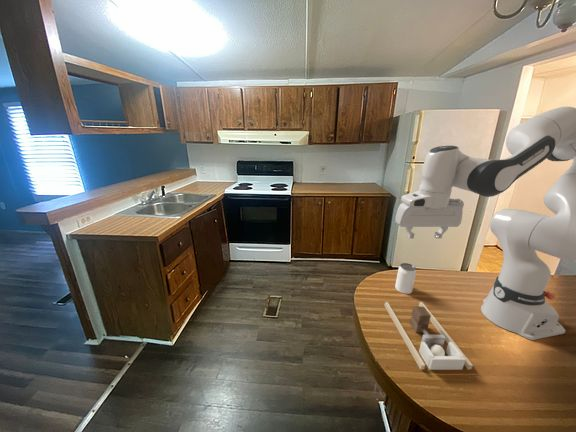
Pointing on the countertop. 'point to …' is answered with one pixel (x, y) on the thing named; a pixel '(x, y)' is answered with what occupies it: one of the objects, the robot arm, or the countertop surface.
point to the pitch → (409, 343)
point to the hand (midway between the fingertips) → (423, 237)
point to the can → (405, 278)
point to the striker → (424, 327)
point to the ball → (437, 350)
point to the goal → (443, 358)
